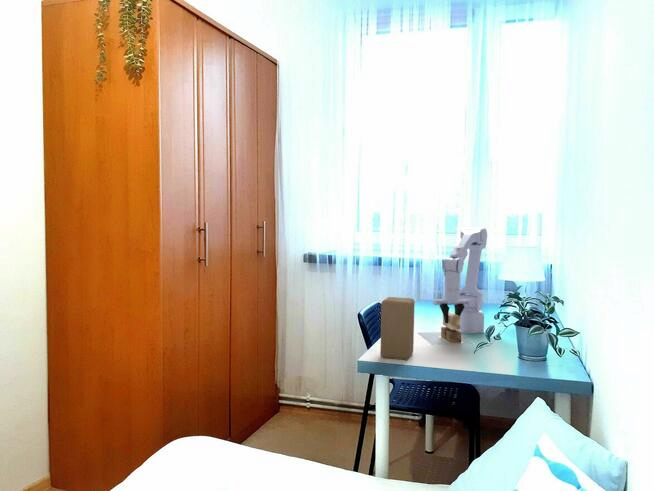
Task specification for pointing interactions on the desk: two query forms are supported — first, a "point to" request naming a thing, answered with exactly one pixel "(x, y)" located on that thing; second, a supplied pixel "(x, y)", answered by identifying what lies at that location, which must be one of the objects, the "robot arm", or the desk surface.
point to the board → (439, 338)
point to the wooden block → (397, 328)
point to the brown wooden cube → (444, 332)
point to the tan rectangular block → (452, 321)
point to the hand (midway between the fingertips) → (451, 322)
